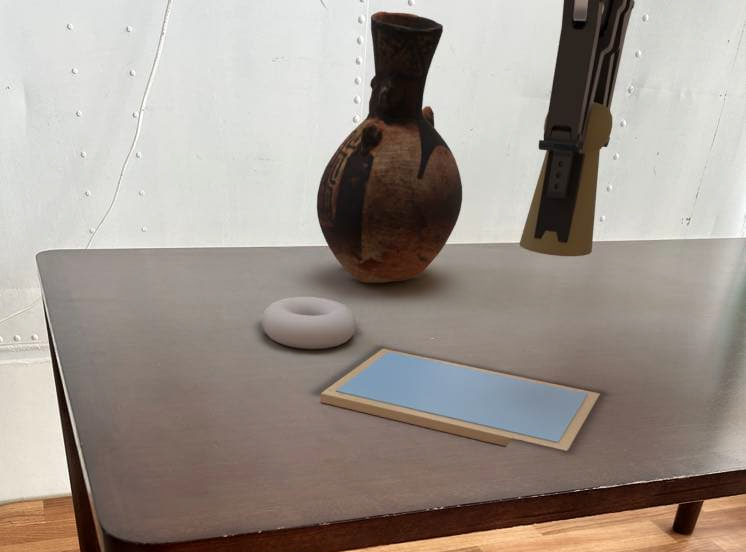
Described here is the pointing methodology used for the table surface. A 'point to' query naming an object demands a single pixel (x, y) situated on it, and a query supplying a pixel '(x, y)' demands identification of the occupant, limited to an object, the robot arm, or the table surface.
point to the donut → (309, 322)
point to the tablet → (463, 400)
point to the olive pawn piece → (586, 197)
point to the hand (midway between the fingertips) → (558, 233)
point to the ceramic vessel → (392, 165)
